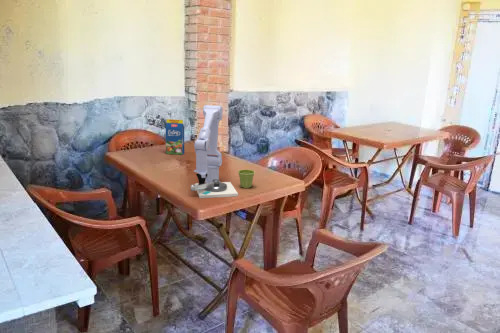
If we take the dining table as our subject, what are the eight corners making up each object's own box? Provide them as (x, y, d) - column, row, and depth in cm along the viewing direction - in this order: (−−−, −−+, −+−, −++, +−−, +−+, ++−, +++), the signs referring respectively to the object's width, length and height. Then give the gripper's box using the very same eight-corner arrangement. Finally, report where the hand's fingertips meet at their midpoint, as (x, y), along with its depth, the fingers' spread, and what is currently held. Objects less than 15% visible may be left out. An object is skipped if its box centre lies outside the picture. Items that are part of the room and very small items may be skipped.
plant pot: (240, 189, 224) (240, 174, 221) (235, 184, 232) (236, 169, 230) (256, 188, 226) (256, 173, 224) (251, 183, 235) (252, 169, 233)
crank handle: (218, 183, 228) (218, 175, 227) (231, 188, 219) (231, 181, 218) (185, 190, 214) (184, 182, 213) (197, 196, 206) (197, 188, 204)
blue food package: (168, 152, 301) (167, 118, 294) (184, 153, 300) (184, 119, 293) (165, 154, 295) (165, 119, 288) (182, 155, 294) (181, 120, 287)
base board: (194, 186, 227) (194, 183, 226) (230, 184, 232) (230, 181, 231) (199, 198, 208) (199, 195, 208) (237, 196, 213) (237, 193, 213)
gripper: (192, 158, 218) (192, 182, 221) (195, 166, 204) (195, 191, 208) (205, 158, 219) (205, 182, 223) (209, 165, 206) (209, 191, 210)
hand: (201, 186), depth 216 cm, fingers closed, pressing on crank handle
